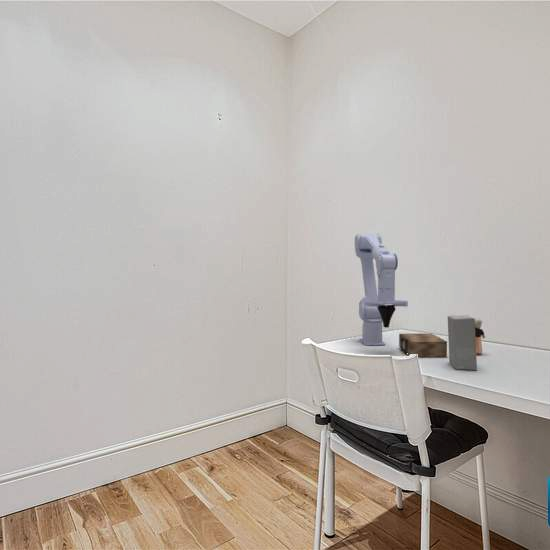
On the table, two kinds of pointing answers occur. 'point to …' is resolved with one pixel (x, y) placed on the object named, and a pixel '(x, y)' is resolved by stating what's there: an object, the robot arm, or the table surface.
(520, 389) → the table surface
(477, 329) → the grandmother figurine
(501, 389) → the table surface
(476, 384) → the table surface
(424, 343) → the block
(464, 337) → the skincare box
